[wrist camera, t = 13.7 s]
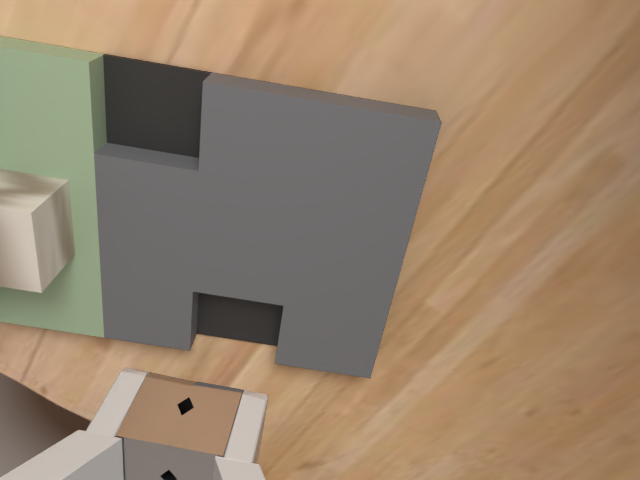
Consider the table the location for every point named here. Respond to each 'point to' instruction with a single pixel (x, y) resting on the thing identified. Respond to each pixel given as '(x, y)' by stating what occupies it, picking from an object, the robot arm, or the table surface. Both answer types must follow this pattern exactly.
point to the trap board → (215, 204)
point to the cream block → (34, 229)
